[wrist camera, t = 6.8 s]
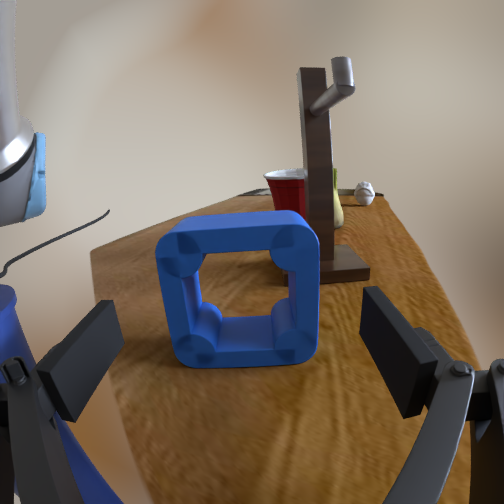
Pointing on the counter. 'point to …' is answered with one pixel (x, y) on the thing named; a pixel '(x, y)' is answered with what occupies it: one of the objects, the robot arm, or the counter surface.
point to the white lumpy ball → (364, 193)
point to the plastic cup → (288, 190)
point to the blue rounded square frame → (240, 328)
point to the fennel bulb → (337, 204)
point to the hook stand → (324, 169)
